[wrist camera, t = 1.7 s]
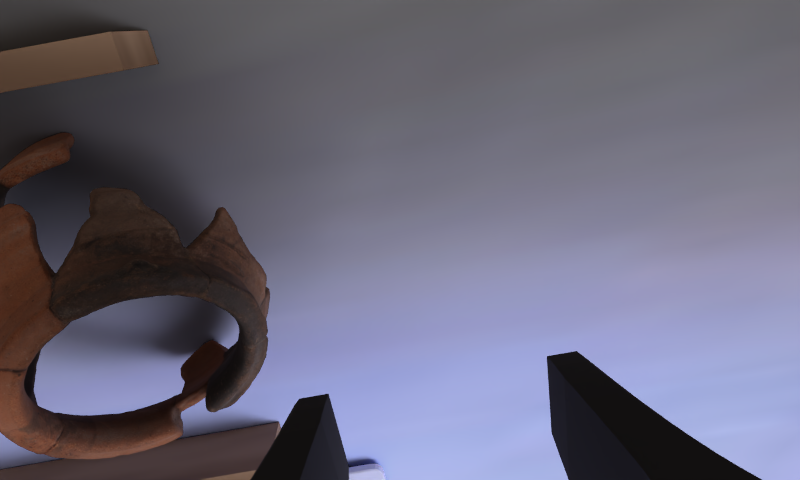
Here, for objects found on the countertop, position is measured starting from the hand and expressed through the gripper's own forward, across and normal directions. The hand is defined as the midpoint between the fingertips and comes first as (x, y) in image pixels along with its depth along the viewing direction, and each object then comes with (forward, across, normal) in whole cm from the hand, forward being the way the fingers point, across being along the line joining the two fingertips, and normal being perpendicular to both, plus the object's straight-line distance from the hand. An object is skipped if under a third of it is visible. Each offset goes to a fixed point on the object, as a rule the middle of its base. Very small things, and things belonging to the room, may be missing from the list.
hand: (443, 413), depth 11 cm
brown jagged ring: (+10, +11, -1) cm, 15 cm away
